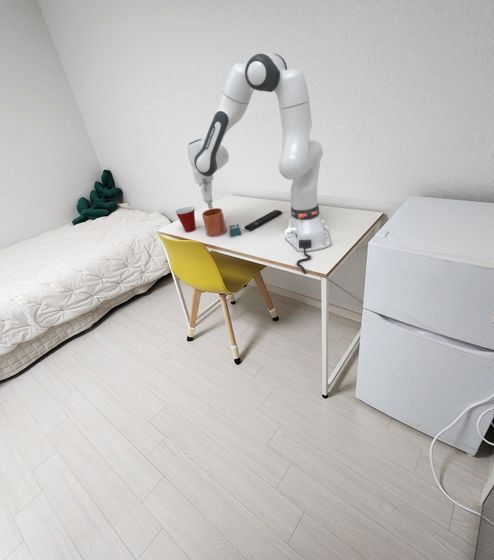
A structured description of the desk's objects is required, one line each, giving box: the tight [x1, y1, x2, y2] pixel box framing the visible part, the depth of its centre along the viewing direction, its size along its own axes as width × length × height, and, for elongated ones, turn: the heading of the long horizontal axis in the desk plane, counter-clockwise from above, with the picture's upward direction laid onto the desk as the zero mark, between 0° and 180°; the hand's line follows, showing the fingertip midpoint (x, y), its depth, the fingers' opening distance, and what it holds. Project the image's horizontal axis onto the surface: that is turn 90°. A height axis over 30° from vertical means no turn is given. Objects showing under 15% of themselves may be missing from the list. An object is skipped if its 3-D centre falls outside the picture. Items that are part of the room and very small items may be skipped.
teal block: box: [228, 223, 241, 238], centre depth 154 cm, size 5×5×4 cm
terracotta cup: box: [201, 207, 227, 238], centre depth 158 cm, size 10×10×11 cm
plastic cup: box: [174, 206, 197, 233], centre depth 166 cm, size 11×11×12 cm
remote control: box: [243, 209, 283, 231], centre depth 162 cm, size 5×24×1 cm, turn 133°
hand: (210, 205), depth 153 cm, fingers open, 8 cm apart
